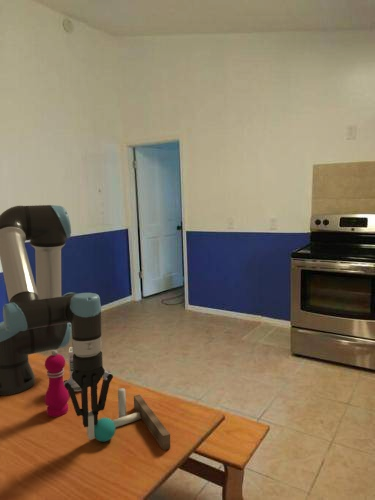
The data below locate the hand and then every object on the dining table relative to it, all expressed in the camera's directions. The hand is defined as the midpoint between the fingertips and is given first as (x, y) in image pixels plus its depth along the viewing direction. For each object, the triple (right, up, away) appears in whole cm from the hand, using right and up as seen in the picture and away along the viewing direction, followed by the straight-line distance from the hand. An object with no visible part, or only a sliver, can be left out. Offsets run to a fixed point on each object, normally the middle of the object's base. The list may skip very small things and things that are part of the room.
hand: (90, 436), depth 105 cm
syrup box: (-12, +1, +32) cm, 34 cm away
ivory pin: (+4, 0, +7) cm, 8 cm away
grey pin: (+6, -1, +12) cm, 14 cm away
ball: (+3, +1, +1) cm, 4 cm away
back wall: (+15, -1, +8) cm, 17 cm away
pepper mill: (-15, 0, +17) cm, 22 cm away
